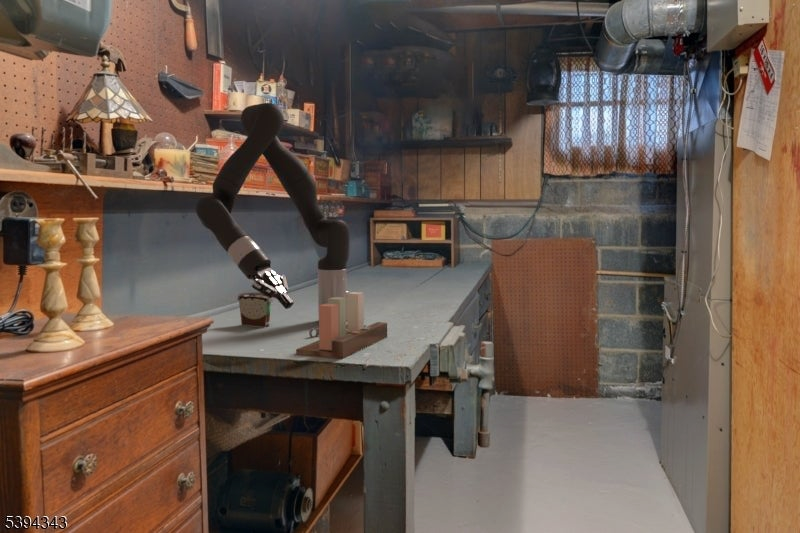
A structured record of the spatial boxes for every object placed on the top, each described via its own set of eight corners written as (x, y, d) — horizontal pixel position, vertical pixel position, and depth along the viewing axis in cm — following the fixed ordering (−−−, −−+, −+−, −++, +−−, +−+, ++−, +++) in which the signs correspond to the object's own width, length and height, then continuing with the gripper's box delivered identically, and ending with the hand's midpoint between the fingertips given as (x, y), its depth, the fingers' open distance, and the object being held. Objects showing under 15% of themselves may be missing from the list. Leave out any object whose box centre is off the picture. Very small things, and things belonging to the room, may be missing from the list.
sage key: (328, 339, 161) (328, 298, 160) (334, 336, 164) (334, 297, 163) (340, 340, 159) (339, 299, 158) (346, 337, 163) (345, 297, 162)
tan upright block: (347, 331, 171) (347, 293, 170) (352, 329, 174) (352, 292, 173) (358, 332, 169) (358, 294, 168) (363, 330, 173) (363, 292, 172)
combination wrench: (310, 327, 170) (367, 317, 183) (308, 326, 171) (364, 317, 184) (311, 340, 170) (367, 329, 183) (308, 339, 171) (365, 329, 184)
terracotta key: (319, 349, 149) (318, 305, 148) (326, 346, 152) (325, 303, 151) (331, 350, 148) (331, 306, 147) (338, 347, 151) (338, 304, 150)
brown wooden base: (296, 353, 151) (295, 336, 151) (345, 333, 176) (345, 318, 176) (343, 358, 146) (342, 340, 146) (387, 337, 171) (387, 321, 170)
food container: (281, 324, 190) (280, 293, 189) (269, 328, 185) (268, 295, 184) (250, 321, 195) (249, 291, 195) (237, 324, 190) (237, 293, 189)
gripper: (241, 249, 150) (284, 300, 146) (271, 246, 162) (312, 293, 158) (224, 269, 152) (266, 320, 149) (255, 265, 164) (295, 311, 161)
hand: (290, 306), depth 154 cm, fingers closed
